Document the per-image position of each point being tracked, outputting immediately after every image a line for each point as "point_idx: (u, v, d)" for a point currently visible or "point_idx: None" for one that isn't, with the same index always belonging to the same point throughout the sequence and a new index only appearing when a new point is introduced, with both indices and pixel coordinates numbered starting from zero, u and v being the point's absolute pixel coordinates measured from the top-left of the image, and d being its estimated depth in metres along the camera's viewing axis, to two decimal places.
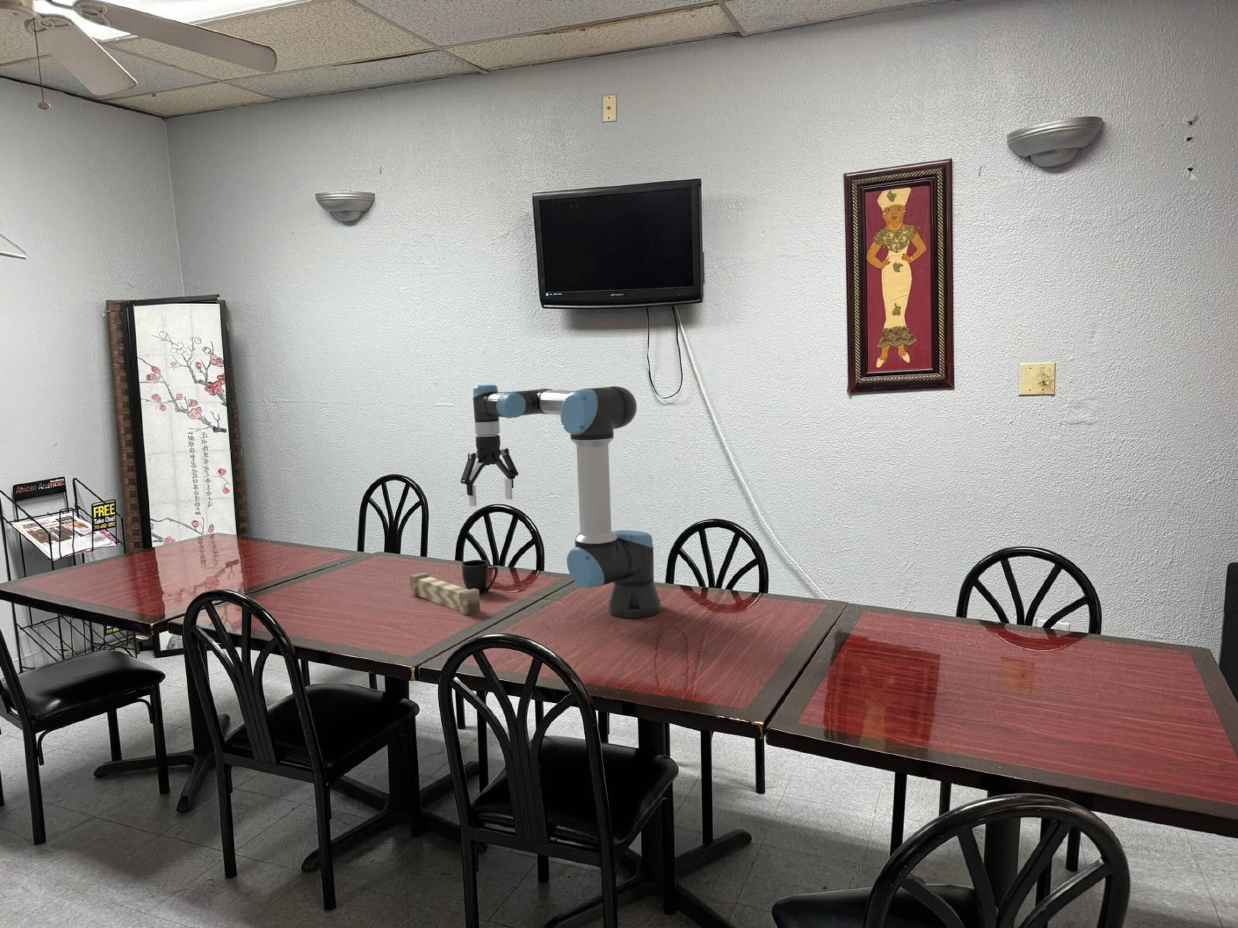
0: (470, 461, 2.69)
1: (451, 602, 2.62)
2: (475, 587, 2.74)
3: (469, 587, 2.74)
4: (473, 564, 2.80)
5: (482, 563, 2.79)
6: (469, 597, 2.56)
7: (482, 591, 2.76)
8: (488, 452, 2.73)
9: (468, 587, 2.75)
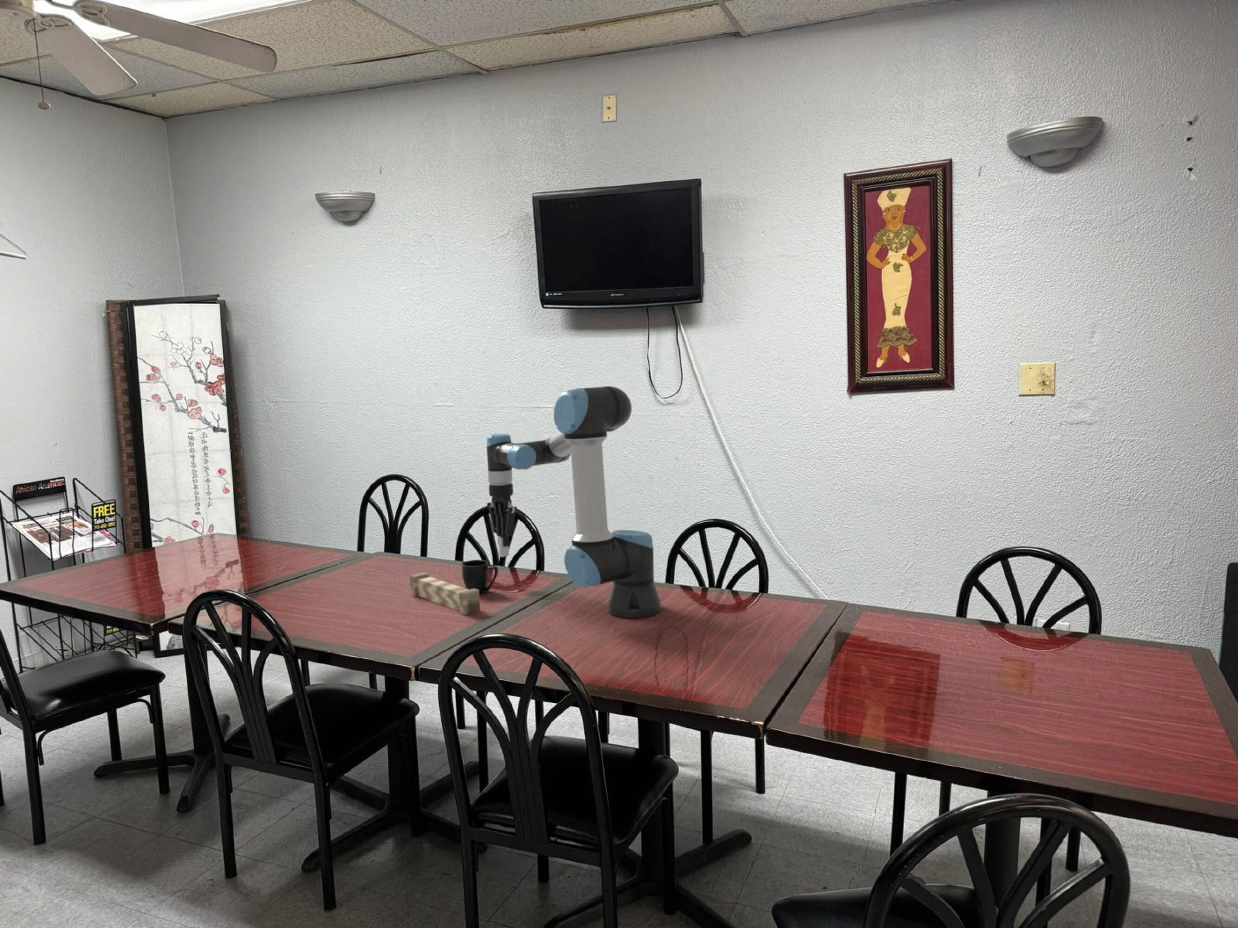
0: None
1: (451, 602, 2.62)
2: (475, 587, 2.74)
3: (469, 587, 2.74)
4: (473, 564, 2.80)
5: (482, 563, 2.79)
6: (469, 597, 2.56)
7: (482, 591, 2.76)
8: None
9: (468, 587, 2.75)
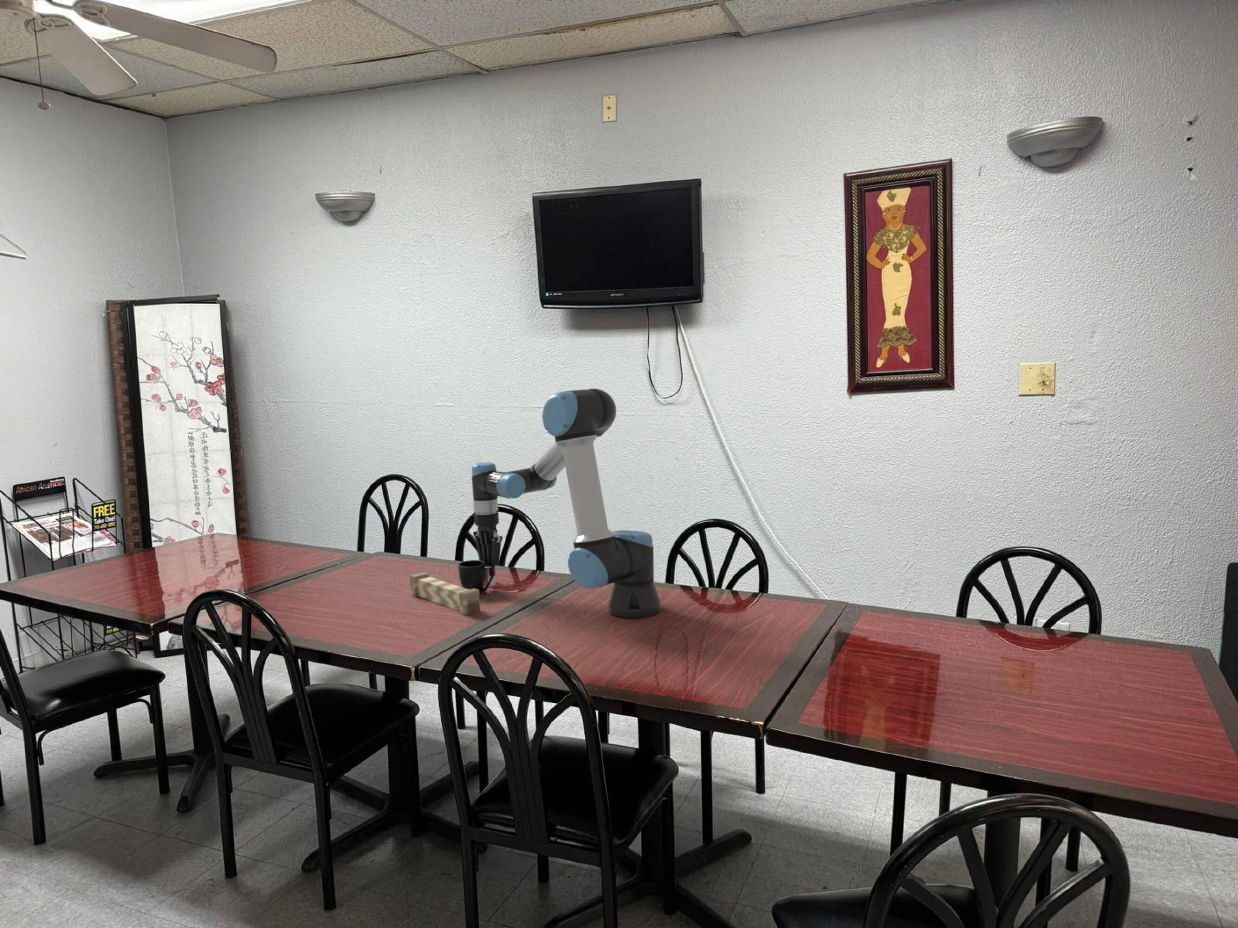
0: None
1: (451, 602, 2.62)
2: (472, 587, 2.73)
3: (466, 588, 2.74)
4: (469, 564, 2.79)
5: (478, 563, 2.79)
6: (469, 597, 2.56)
7: (479, 591, 2.75)
8: None
9: None
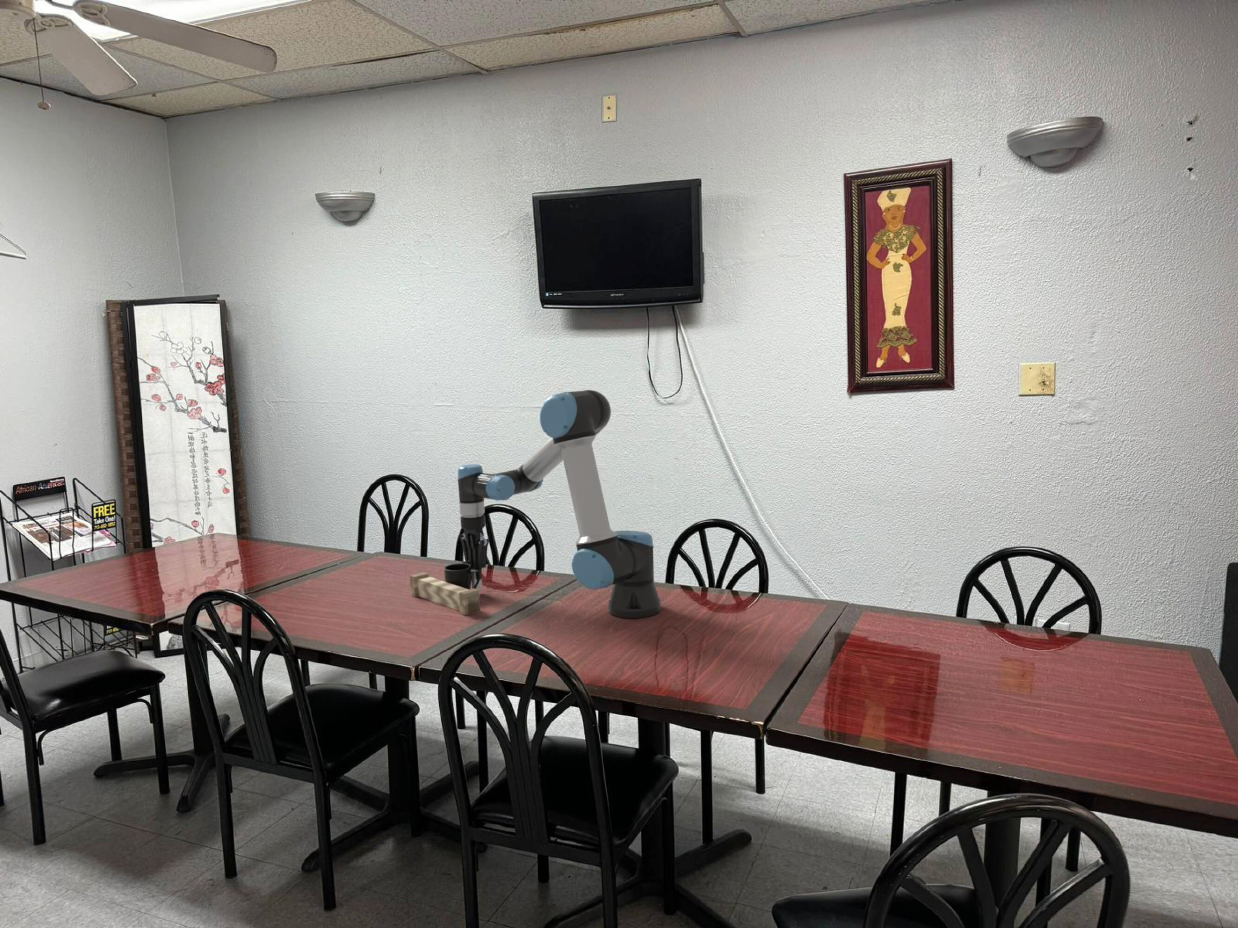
0: None
1: (451, 602, 2.62)
2: None
3: None
4: (456, 568, 2.76)
5: (465, 567, 2.75)
6: (469, 597, 2.56)
7: None
8: None
9: None
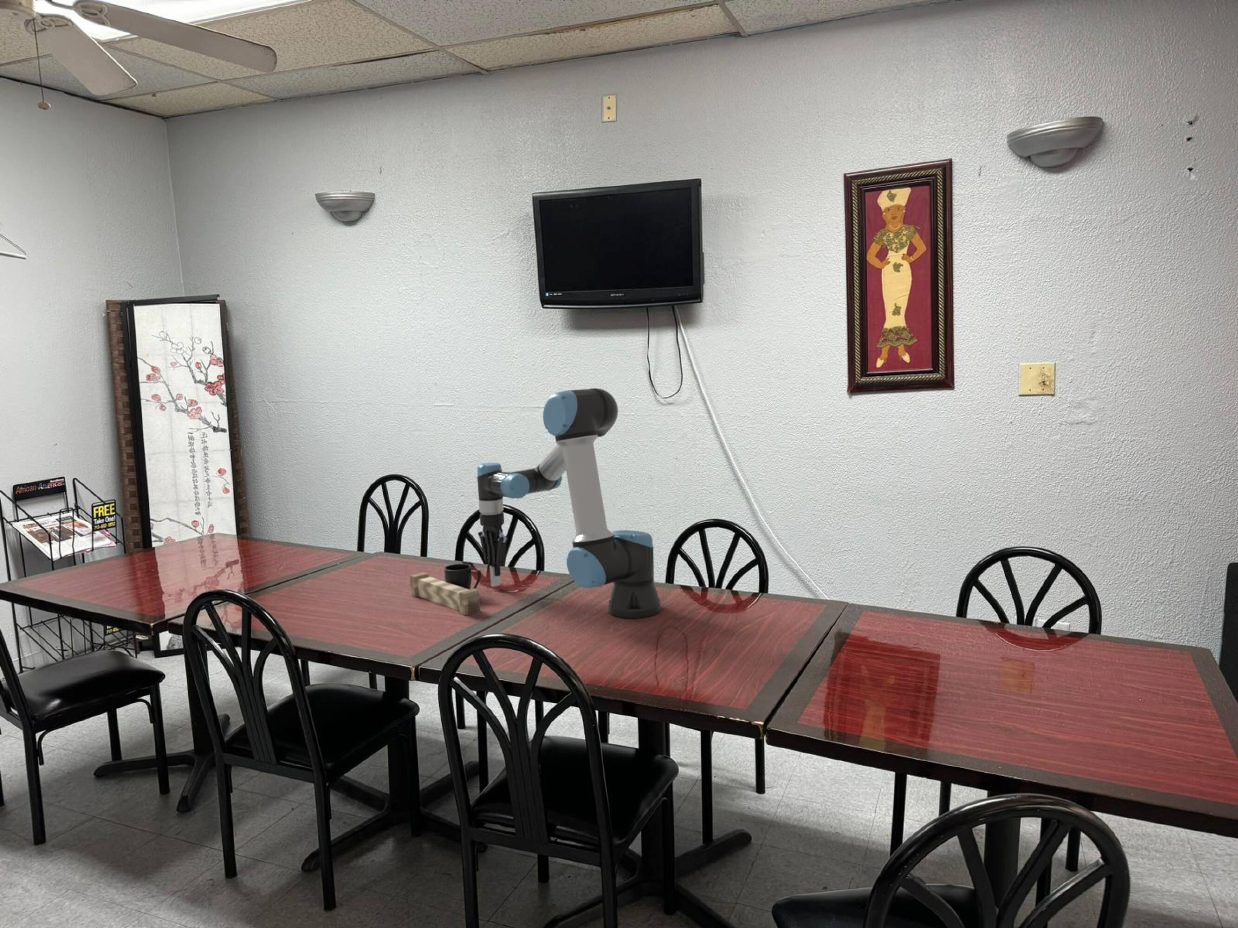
0: None
1: (451, 602, 2.62)
2: None
3: None
4: (456, 568, 2.76)
5: (465, 567, 2.75)
6: (469, 597, 2.56)
7: None
8: None
9: None
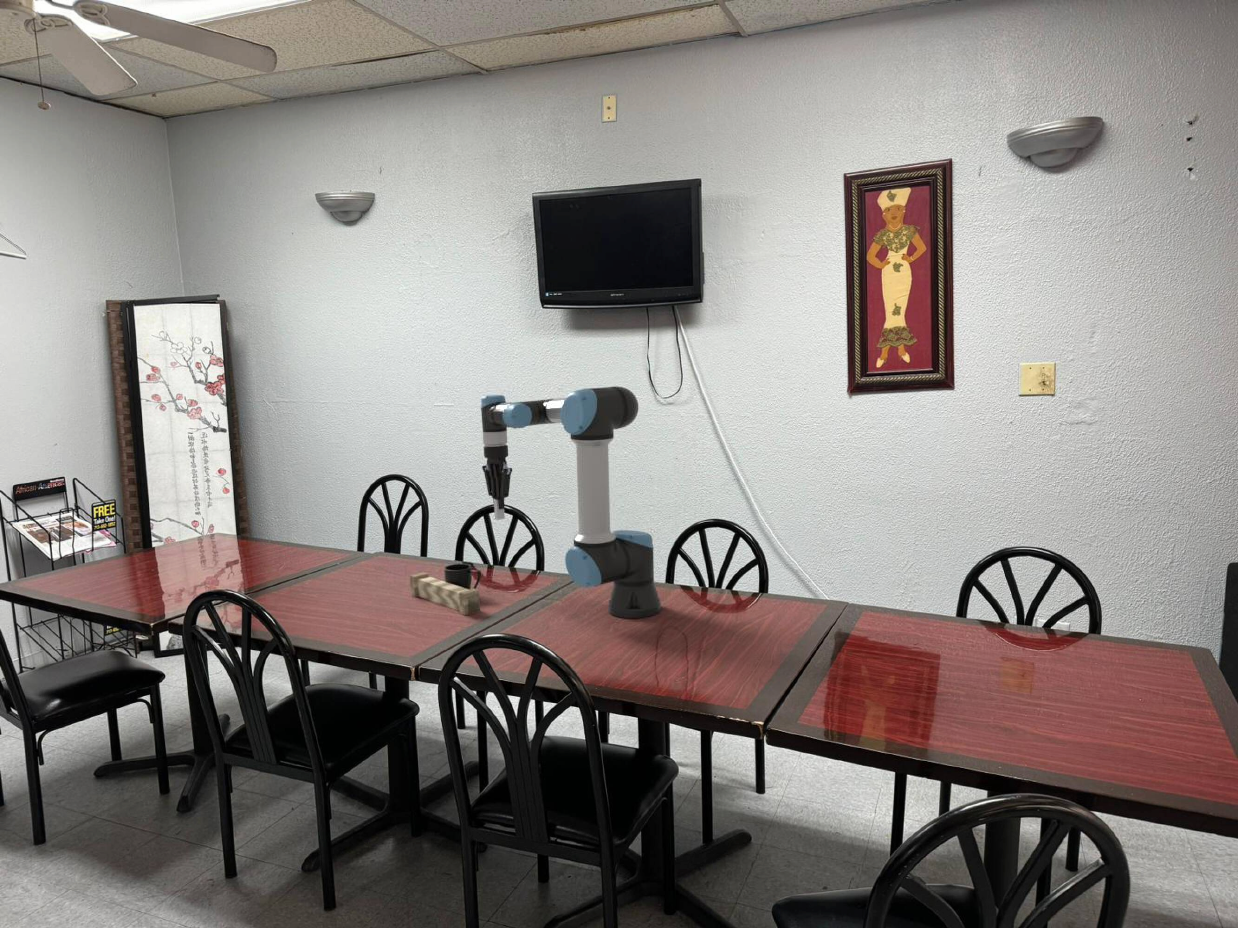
0: None
1: (451, 602, 2.62)
2: None
3: None
4: (456, 568, 2.76)
5: (465, 567, 2.75)
6: (469, 597, 2.56)
7: None
8: None
9: None
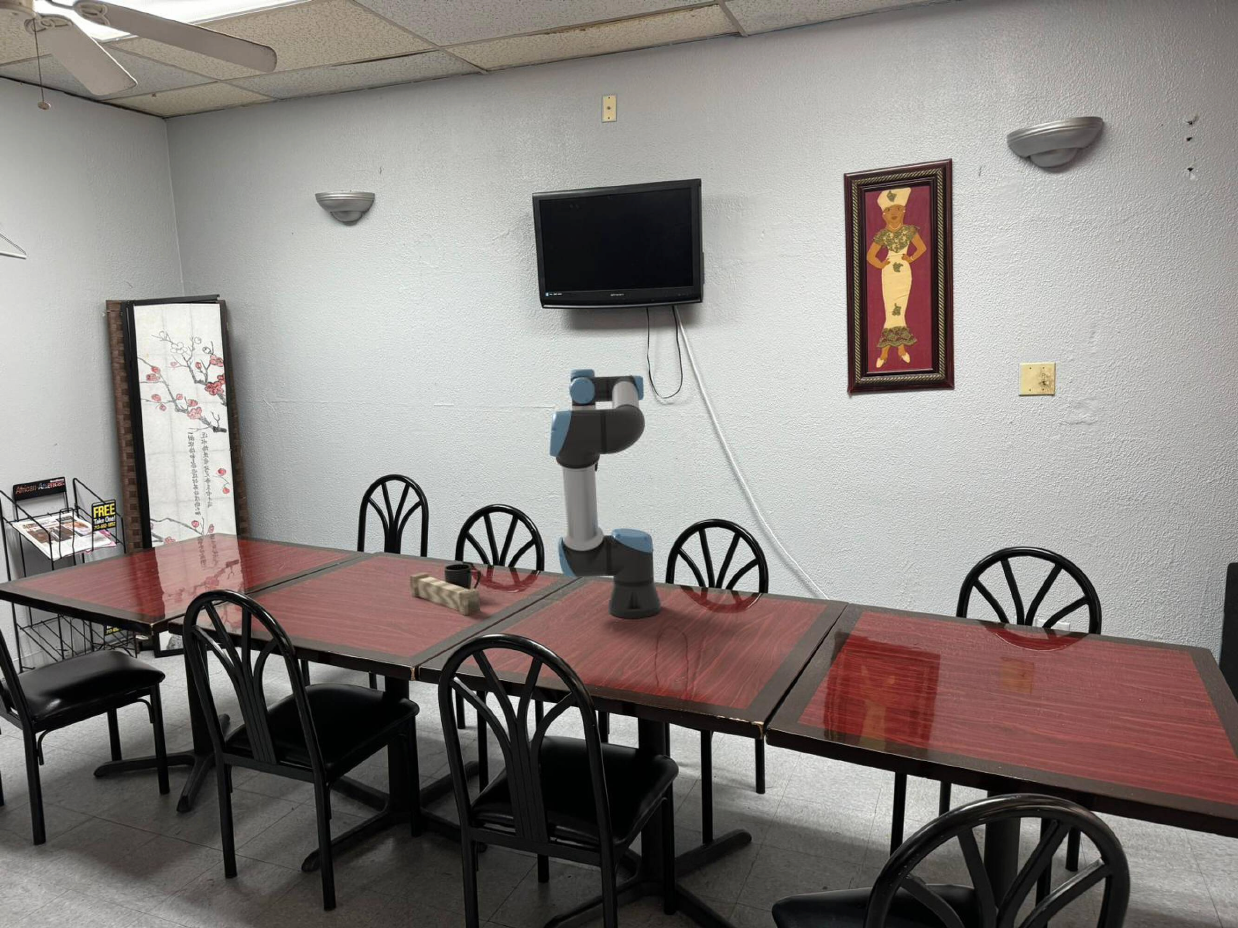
0: None
1: (451, 602, 2.62)
2: None
3: None
4: (456, 568, 2.76)
5: (465, 567, 2.75)
6: (469, 597, 2.56)
7: None
8: None
9: None
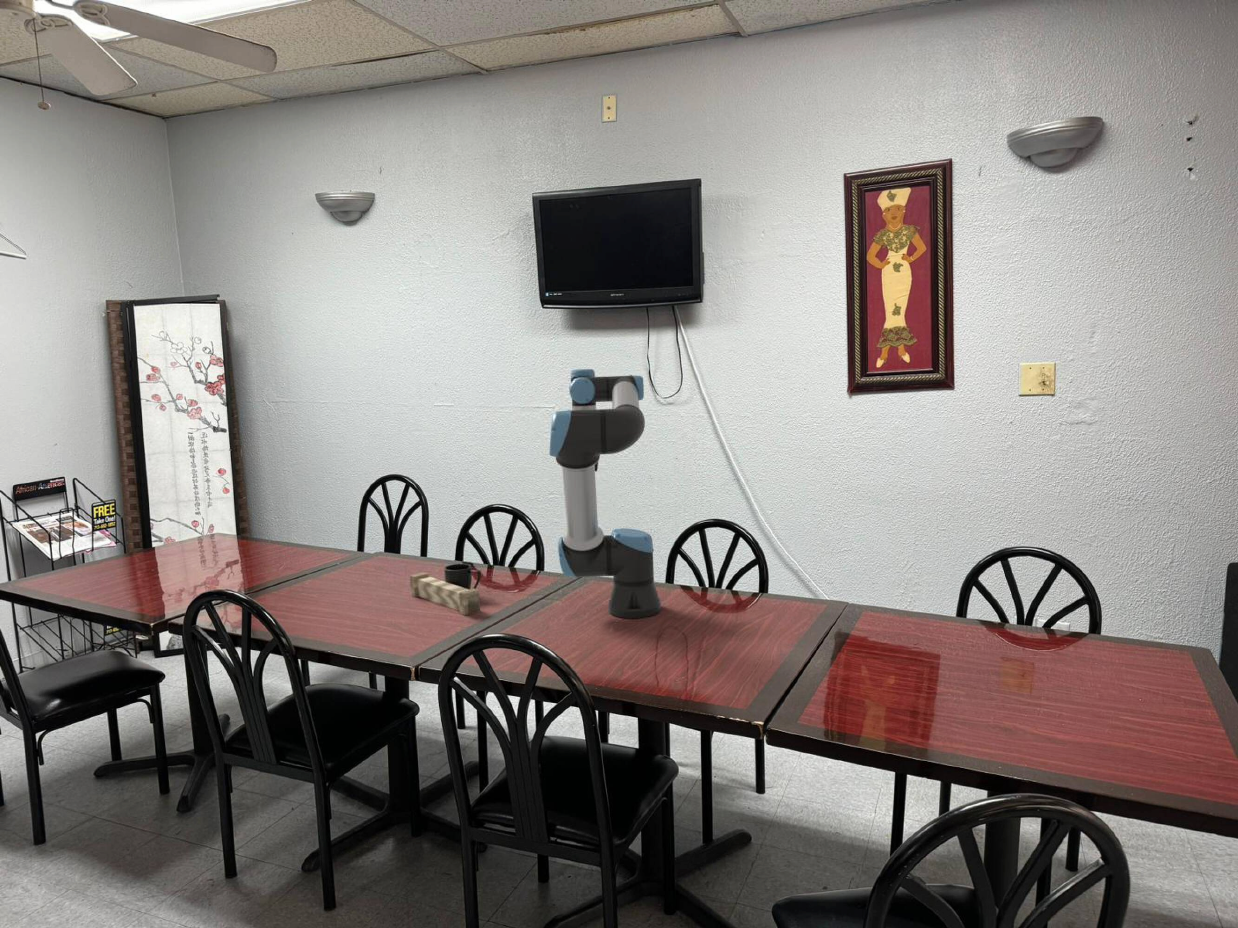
0: None
1: (451, 602, 2.62)
2: None
3: None
4: (456, 568, 2.76)
5: (465, 567, 2.75)
6: (469, 597, 2.56)
7: None
8: None
9: None
